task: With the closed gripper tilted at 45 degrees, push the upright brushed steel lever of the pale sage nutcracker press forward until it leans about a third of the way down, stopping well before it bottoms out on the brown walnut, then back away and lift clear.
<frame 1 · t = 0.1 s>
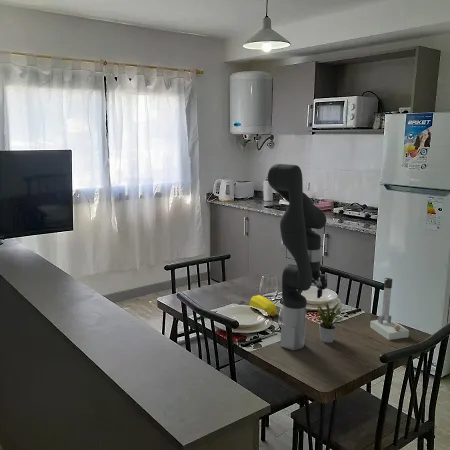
hand: (309, 295, 191), 17 cm above the table, tool pointing down, fingers open, 8 cm apart
press lever: (386, 299, 198), point 14 cm above the table, hinge at 0.0°
press base: (388, 332, 198), on the table
bread roll: (292, 300, 233), on the table
house plant: (330, 340, 190), on the table
yellow curved elongated piece: (262, 312, 218), on the table
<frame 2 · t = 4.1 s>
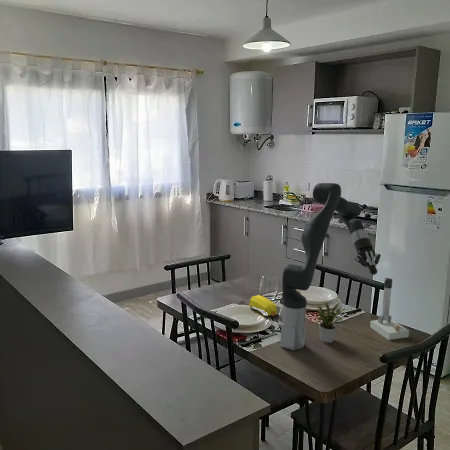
hand: (374, 273, 206), 22 cm above the table, tool tilted 45°, fingers closed
nothing on the table moved.
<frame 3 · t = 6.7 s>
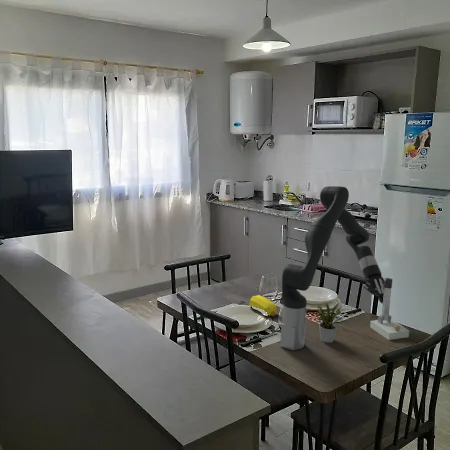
hand: (384, 302, 200), 12 cm above the table, tool tilted 45°, fingers closed
press lever: (386, 299, 198), point 14 cm above the table, hinge at 0.0°, touching gripper
everything else where it was.
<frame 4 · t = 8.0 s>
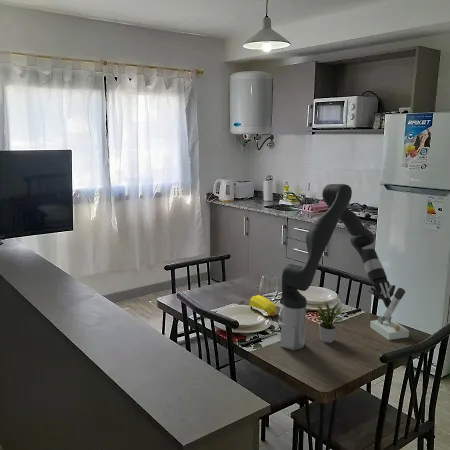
hand: (389, 307, 196), 11 cm above the table, tool tilted 45°, fingers closed
press lever: (392, 305, 194), point 13 cm above the table, hinge at 27.5°, touching gripper
everything else where it was.
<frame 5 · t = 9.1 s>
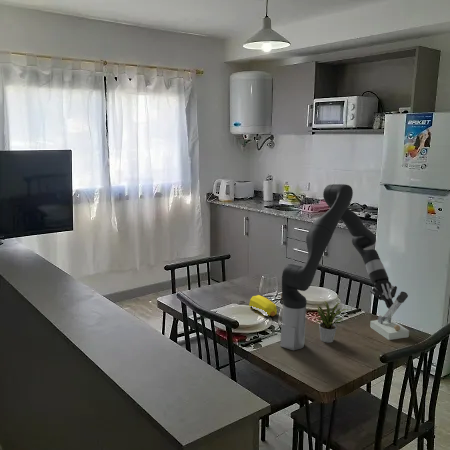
hand: (391, 308, 195), 11 cm above the table, tool tilted 45°, fingers closed
press lever: (394, 307, 193), point 12 cm above the table, hinge at 33.9°
everything else where it was.
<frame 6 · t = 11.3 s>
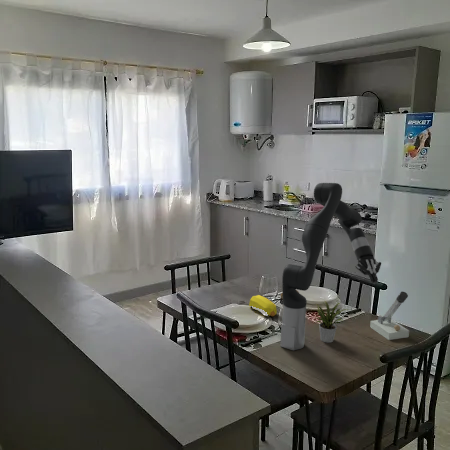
hand: (375, 282, 204), 19 cm above the table, tool tilted 45°, fingers closed
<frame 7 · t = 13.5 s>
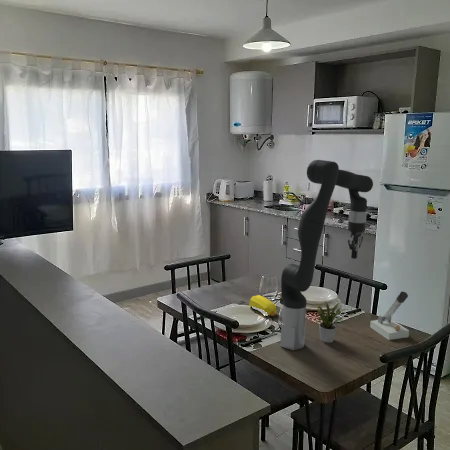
hand: (354, 258, 206), 29 cm above the table, tool pointing down, fingers closed
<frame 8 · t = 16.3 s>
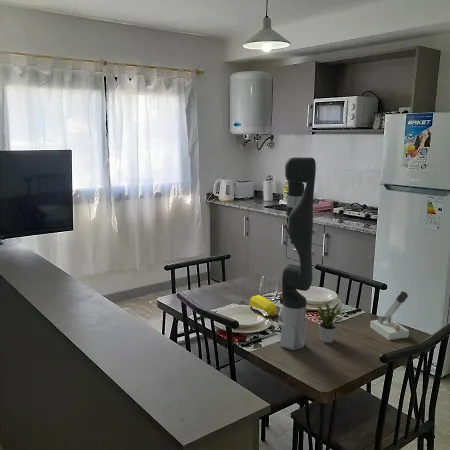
hand: (293, 243, 206), 35 cm above the table, tool pointing down, fingers closed
at the end: press lever at +34° (first picture: +0°) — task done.
